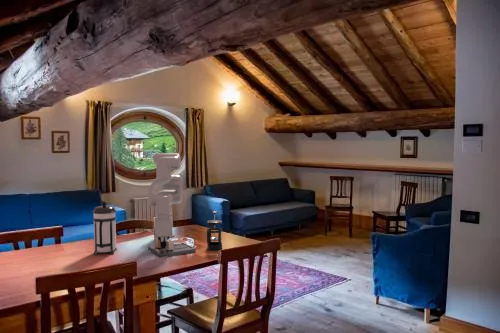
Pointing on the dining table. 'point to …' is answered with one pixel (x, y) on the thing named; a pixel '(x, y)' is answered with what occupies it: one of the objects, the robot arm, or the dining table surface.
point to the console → (178, 250)
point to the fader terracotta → (158, 243)
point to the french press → (214, 245)
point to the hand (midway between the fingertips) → (163, 247)
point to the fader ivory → (170, 245)
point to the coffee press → (104, 229)
